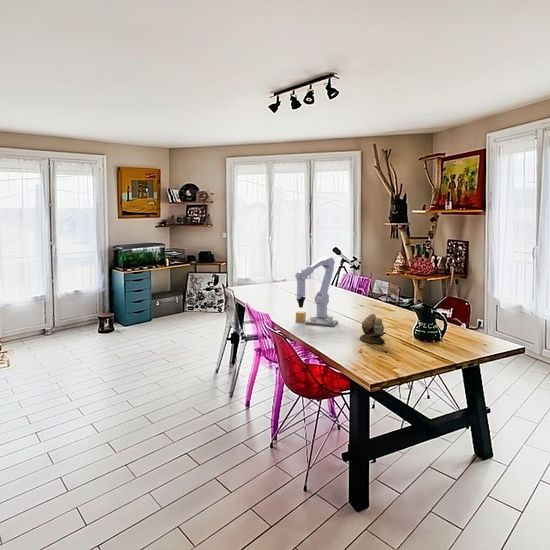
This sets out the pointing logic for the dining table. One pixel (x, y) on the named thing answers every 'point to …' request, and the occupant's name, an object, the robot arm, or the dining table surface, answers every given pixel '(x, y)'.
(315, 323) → the panel
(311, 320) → the white rectangular block
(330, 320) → the untagged breaker
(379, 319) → the stacked stone sculpture
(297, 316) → the orange cube
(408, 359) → the dining table surface
